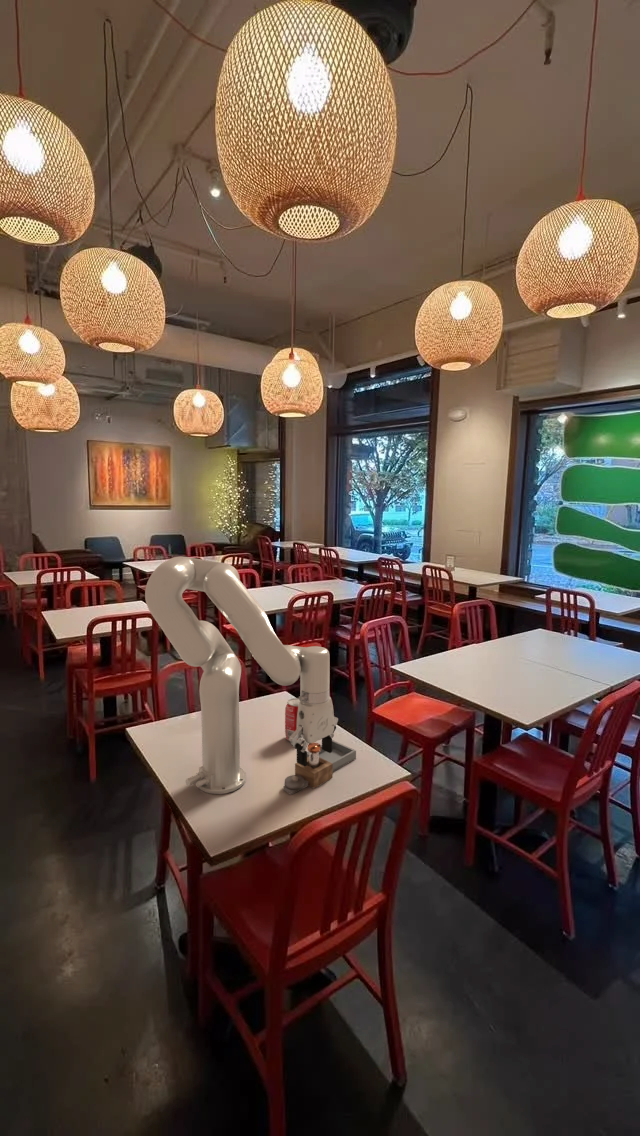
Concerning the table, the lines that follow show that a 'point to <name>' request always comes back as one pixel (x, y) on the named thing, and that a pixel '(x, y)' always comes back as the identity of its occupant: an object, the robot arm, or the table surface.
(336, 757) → the tray
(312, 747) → the lock pin
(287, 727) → the soda can
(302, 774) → the block
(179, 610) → the robot arm
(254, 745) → the table surface
